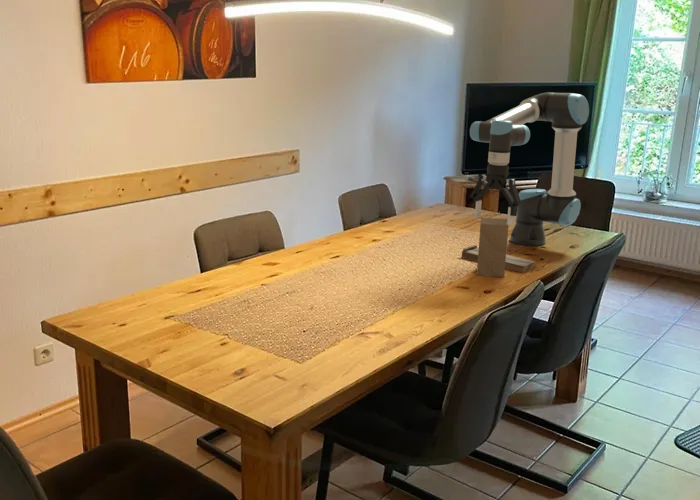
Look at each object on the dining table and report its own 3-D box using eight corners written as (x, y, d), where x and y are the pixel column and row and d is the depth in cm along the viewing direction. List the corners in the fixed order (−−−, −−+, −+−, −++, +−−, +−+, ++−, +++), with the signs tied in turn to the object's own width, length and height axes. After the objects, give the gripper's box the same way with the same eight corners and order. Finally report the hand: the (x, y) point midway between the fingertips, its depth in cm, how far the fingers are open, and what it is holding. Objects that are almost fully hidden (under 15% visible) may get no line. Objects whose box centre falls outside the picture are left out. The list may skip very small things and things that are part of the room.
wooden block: (504, 277, 254) (508, 225, 249) (476, 275, 256) (480, 223, 251) (503, 269, 264) (508, 218, 258) (477, 267, 266) (481, 217, 260)
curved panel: (474, 252, 286) (474, 244, 285) (535, 267, 267) (535, 259, 266) (461, 257, 279) (462, 248, 278) (523, 272, 261) (524, 263, 260)
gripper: (463, 160, 255) (459, 216, 260) (523, 168, 238) (518, 228, 243) (474, 159, 260) (470, 214, 265) (534, 167, 243) (528, 225, 249)
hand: (493, 221), depth 254 cm, fingers open, 13 cm apart
